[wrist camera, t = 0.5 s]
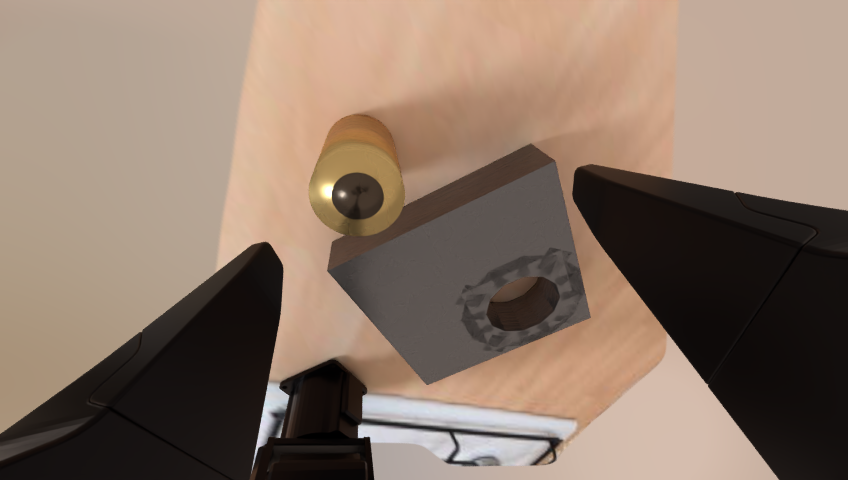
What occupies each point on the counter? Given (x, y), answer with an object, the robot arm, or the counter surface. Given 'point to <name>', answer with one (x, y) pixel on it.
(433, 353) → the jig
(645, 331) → the counter surface
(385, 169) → the bushing
